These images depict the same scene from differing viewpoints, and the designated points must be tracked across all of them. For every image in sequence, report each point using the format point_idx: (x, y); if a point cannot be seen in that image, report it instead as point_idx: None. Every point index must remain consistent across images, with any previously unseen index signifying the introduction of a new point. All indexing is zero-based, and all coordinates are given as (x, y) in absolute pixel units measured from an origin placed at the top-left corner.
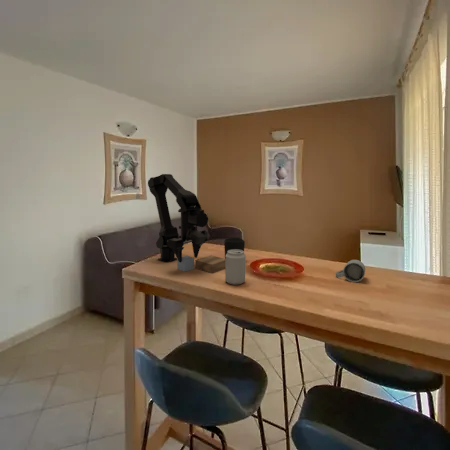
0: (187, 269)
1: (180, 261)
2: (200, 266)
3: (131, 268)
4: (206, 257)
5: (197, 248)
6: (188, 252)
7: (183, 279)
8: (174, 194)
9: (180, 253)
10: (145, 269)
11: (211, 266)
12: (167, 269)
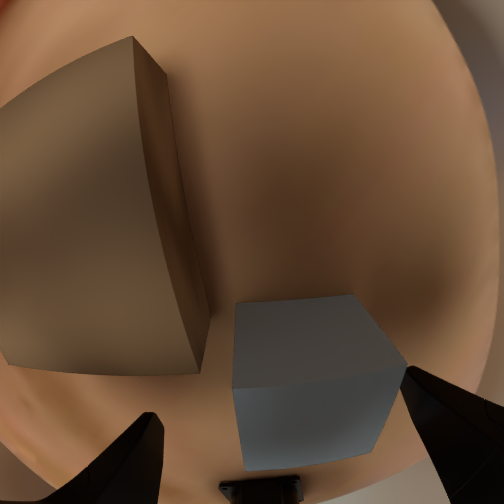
0: (325, 303)
1: (419, 371)
2: (187, 257)
3: None
4: (48, 354)
5: (107, 500)
6: None
7: (460, 134)
8: None
9: (500, 415)
10: None
11: (144, 60)
12: None
